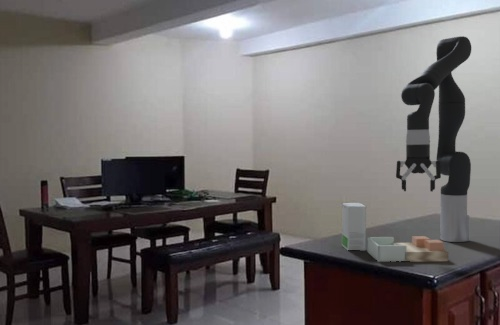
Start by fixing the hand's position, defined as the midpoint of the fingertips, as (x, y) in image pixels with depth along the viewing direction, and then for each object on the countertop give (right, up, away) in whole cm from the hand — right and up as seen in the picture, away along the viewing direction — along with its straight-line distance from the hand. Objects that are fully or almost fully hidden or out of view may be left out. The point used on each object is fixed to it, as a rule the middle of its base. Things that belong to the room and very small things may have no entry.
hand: (418, 191), depth 166 cm
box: (-13, -21, -7) cm, 25 cm away
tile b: (+1, -18, -10) cm, 21 cm away
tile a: (-1, -18, -4) cm, 18 cm away
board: (-2, -21, -7) cm, 22 cm away
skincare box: (-21, -21, +6) cm, 30 cm away
